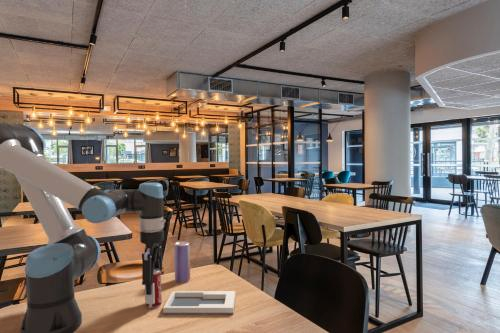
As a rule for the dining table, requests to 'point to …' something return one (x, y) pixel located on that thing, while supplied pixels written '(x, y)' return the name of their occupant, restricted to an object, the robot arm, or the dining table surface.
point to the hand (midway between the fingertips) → (153, 298)
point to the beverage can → (182, 261)
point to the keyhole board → (200, 303)
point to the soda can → (156, 290)
